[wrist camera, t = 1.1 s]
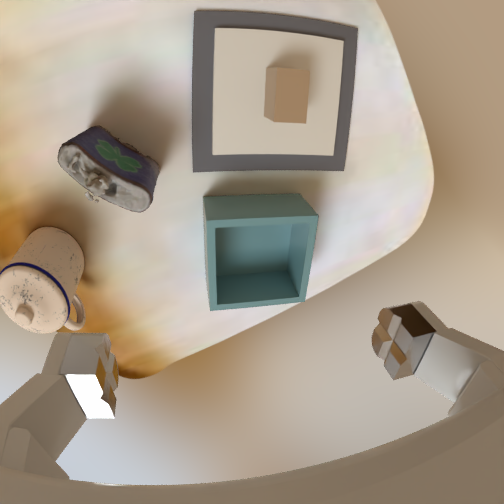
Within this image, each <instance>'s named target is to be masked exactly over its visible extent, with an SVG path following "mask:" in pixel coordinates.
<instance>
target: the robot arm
mask: <svg viewBox="0 0 504 504" xmlns="http://www.w3.org/2000/svg"><path fill="white" fill-rule="evenodd" d="M378 320H379V322H380V323H379V325H378V326H377V327H376V328H375V329H374V332H373V335H372V346H373V349H374V351H375V353H376V355H377V356H378V357H379V358H381V359H383V360H385V362H384V367H385V368H386V370H387V371H388V373H389V374H390V376H391V377H392V379H393V380H396V379H399V378H403V377H406V376H410V375H413V374H414V376H415V377H416V378H418V379H419V380H421V381H422V382H424V383H425V384H427V385H428V386H430V387H431V388H433V389H434V390H436V391H437V392H439V393H440V394H442V395H443V396H445V397H447V398H448V399H450V400H451V401H453V402H454V405H453V406H452V407H451V409H450V410H449V412H448V416H449V417H447V418H445V419H443V420H441V421H439V422H437V423H435V424H432V425H430V426H428V427H426V428H424V429H421V430H419V431H417V432H414V433H412V434H409V435H407V436H405V437H402V438H399V439H397V440H394V441H392V442H389V443H386V444H384V445H381V446H378V447H375V448H372V449H369V450H366V451H363V452H360V453H357V454H354V455H350V456H348V457H344V458H340V459H337V460H333V461H330V462H326V463H322V464H319V465H314V466H310V467H306V468H301V469H297V470H292V471H287V472H282V473H277V474H272V475H266V476H260V477H254V478H247V479H240V480H232V481H223V482H213V483H201V484H184V485H122V484H106V483H94V482H85V481H76V480H69V476H68V475H67V474H66V473H65V471H64V470H63V469H62V468H61V467H60V466H59V465H58V464H57V463H56V462H55V461H56V460H57V458H58V457H59V455H60V454H61V453H62V452H63V450H64V449H65V447H66V446H67V445H68V443H69V442H70V441H71V439H72V438H73V437H74V435H75V434H76V433H77V432H78V430H79V429H80V428H81V426H82V425H83V424H84V422H85V421H86V420H87V419H86V418H114V417H115V407H116V397H115V395H114V392H113V391H114V390H115V389H116V388H117V387H118V366H117V361H116V358H115V355H114V354H112V353H111V352H110V348H111V342H110V339H109V336H108V335H107V334H106V333H57V334H56V335H55V337H54V340H53V342H52V345H51V348H50V350H49V353H48V356H47V359H46V361H45V364H44V367H43V370H42V373H41V374H36V375H35V376H34V377H32V378H31V379H30V380H29V381H28V382H26V383H25V384H24V385H23V386H22V387H20V388H19V389H18V390H17V391H16V392H14V393H13V394H12V395H11V396H10V397H9V398H8V399H7V400H5V401H4V402H3V403H2V404H1V405H0V504H504V351H502V350H500V349H498V348H496V347H493V346H491V345H489V344H486V343H484V342H482V341H480V340H478V339H475V338H473V337H471V336H469V335H466V334H464V333H462V332H459V331H457V330H455V329H453V328H449V329H448V328H447V327H446V326H445V325H444V324H443V322H442V321H441V320H440V319H438V317H437V316H436V315H435V314H434V313H433V312H432V311H431V310H430V309H429V308H428V307H427V306H426V305H425V304H424V303H423V302H420V301H417V302H412V303H408V304H403V305H398V306H393V307H387V308H383V309H382V310H381V311H380V313H379V316H378Z"/></svg>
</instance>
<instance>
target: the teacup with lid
mask: <svg viewBox="0 0 504 504" xmlns="http://www.w3.org/2000/svg"><path fill="white" fill-rule="evenodd" d="M83 271H84V256H83V252H82V250H81V248H80V246H79V245H78V243H77V242H76V240H75V239H74V238H73V237H72V236H70V235H69V234H68V233H66V232H65V231H63V230H61V229H58V228H54V227H42V228H39V229H37V230H35V231H33V232H32V233H31V234H30V235H29V236H28V238H27V239H26V240H25V242H24V243H23V245H22V246H21V247H20V249H19V250H18V251H17V253H16V254H15V256H14V257H13V259H12V260H11V261H10V263H9V264H8V266H6V267H5V268H4V269H3V270H2V271H1V273H0V304H1V307H2V308H3V310H4V311H5V313H6V314H7V315H8V316H9V317H10V319H12V320H13V321H14V322H15V323H16V324H18V325H19V326H21V327H23V328H25V329H27V330H29V331H32V332H36V333H51V332H54V331H56V330H58V329H60V328H61V327H62V326H63V325H64V326H66V327H67V328H68V329H70V330H79V329H81V328H82V327H83V326H84V324H85V309H84V306H83V303H82V301H81V299H80V298H79V297H78V295H77V294H76V293H75V292H76V289H77V286H78V284H79V281H80V279H81V276H82V273H83ZM71 303H73V305H74V306H75V309H76V312H77V323H76V322H74V321H73V320H71V319H70V318H69V314H70V305H71Z"/></svg>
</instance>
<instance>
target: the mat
mask: <svg viewBox="0 0 504 504" xmlns="http://www.w3.org/2000/svg"><path fill="white" fill-rule="evenodd" d="M215 28H237V29H256V30H269V31H280V32H289V33H298V34H305V35H312V36H319V37H325V38H331V39H336V40H341V41H344V43H343V59H342V73H341V85H340V97H339V107H338V118H337V127H336V136H335V145H334V154H333V156H327V155H297V154H231V155H213V154H212V107H213V62H214V33H215ZM357 32H358V28H354V27H349V26H345V25H340V24H335V23H330V22H325V21H319V20H313V19H307V18H300V17H293V16H285V15H276V14H265V13H253V12H234V11H194V32H193V67H192V154H193V172H213V171H244V170H322V171H344V166H345V159H346V151H347V143H348V135H349V127H350V118H351V108H352V99H353V88H354V76H355V64H356V49H357Z"/></svg>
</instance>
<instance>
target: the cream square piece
mask: <svg viewBox="0 0 504 504" xmlns="http://www.w3.org/2000/svg"><path fill="white" fill-rule="evenodd" d="M343 43H344V41H341V40H336V39H331V38H325V37H319V36H312V35H305V34H298V33H289V32H280V31H269V30H256V29H237V28H215V33H214V62H213V107H212V154H213V155H231V154H297V155H327V156H333V154H334V145H335V136H336V127H337V118H338V107H339V97H340V85H341V73H342V59H343Z"/></svg>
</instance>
